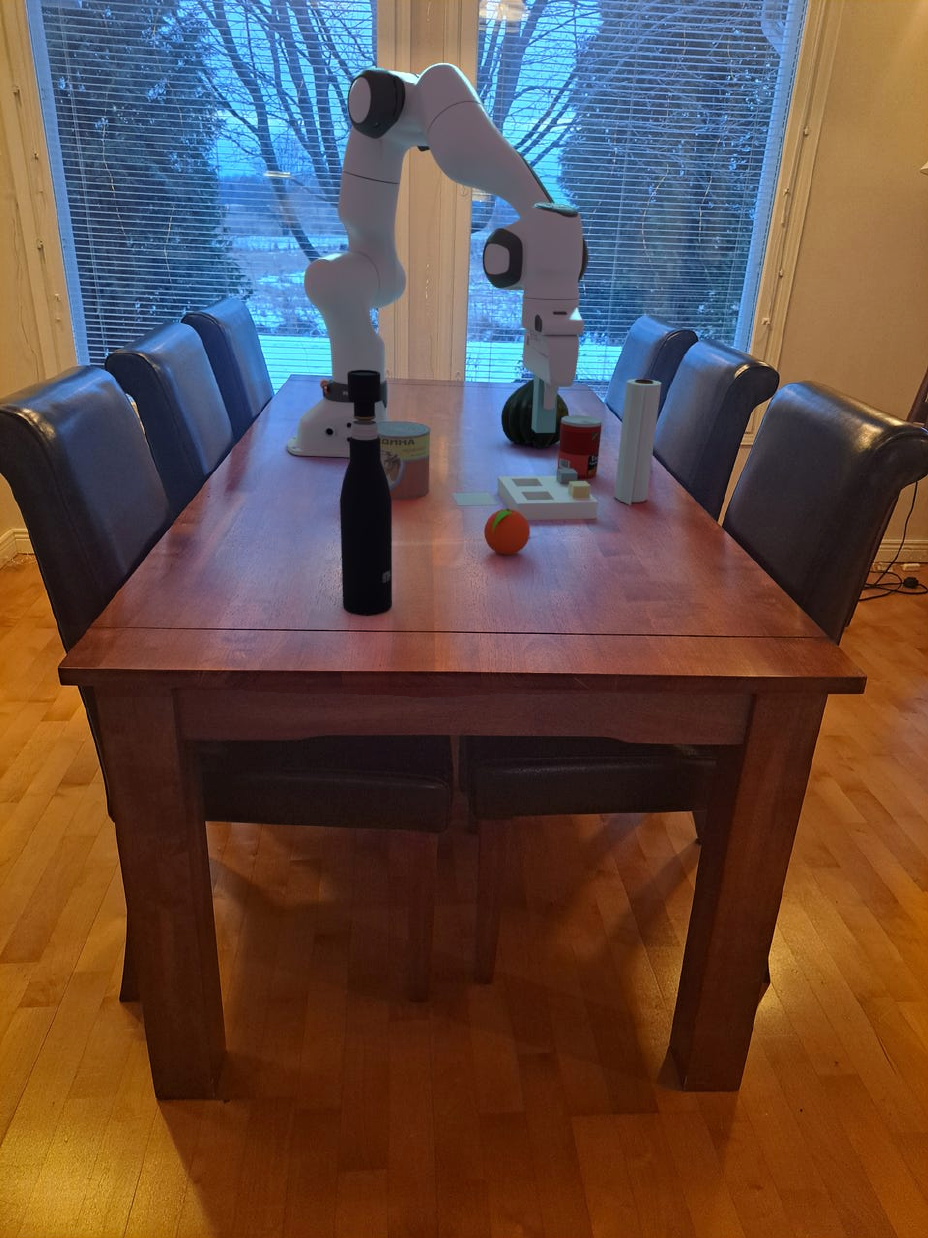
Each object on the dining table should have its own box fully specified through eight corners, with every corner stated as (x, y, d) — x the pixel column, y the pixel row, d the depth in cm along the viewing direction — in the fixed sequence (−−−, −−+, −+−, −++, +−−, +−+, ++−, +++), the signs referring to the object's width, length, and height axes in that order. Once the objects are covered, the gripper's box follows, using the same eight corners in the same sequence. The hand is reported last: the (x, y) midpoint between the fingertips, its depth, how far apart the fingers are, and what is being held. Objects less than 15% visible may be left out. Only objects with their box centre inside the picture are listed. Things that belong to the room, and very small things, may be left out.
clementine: (511, 567, 130) (513, 521, 127) (471, 557, 133) (472, 512, 130) (536, 551, 136) (539, 507, 133) (497, 542, 139) (499, 499, 136)
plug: (536, 432, 144) (539, 370, 140) (531, 428, 147) (534, 366, 143) (555, 432, 145) (559, 369, 141) (550, 428, 148) (553, 366, 143)
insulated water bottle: (343, 595, 119) (337, 367, 106) (391, 595, 119) (391, 368, 106) (341, 615, 113) (334, 376, 100) (392, 615, 113) (391, 377, 101)
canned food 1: (356, 498, 158) (355, 431, 153) (383, 482, 168) (383, 418, 163) (414, 506, 155) (415, 438, 150) (438, 489, 164) (439, 425, 159)
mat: (458, 508, 154) (458, 505, 154) (451, 496, 160) (452, 493, 160) (497, 507, 155) (497, 504, 155) (489, 495, 162) (489, 492, 161)
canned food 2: (595, 480, 173) (600, 425, 168) (554, 477, 174) (559, 421, 170) (597, 470, 180) (603, 416, 175) (558, 467, 181) (563, 413, 176)
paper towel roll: (626, 491, 167) (639, 376, 158) (653, 499, 163) (668, 381, 154) (603, 498, 162) (615, 380, 153) (630, 506, 158) (644, 385, 149)
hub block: (516, 523, 148) (517, 491, 146) (497, 494, 162) (498, 465, 160) (596, 521, 150) (599, 490, 148) (570, 493, 165) (572, 464, 162)
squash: (526, 431, 185) (561, 372, 187) (479, 421, 196) (512, 365, 197) (559, 468, 196) (592, 411, 197) (512, 456, 206) (543, 402, 207)
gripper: (515, 310, 147) (512, 394, 153) (546, 324, 129) (540, 418, 135) (552, 310, 148) (547, 393, 154) (587, 324, 130) (580, 418, 136)
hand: (544, 405), depth 144 cm, fingers closed on plug, 3 cm apart
